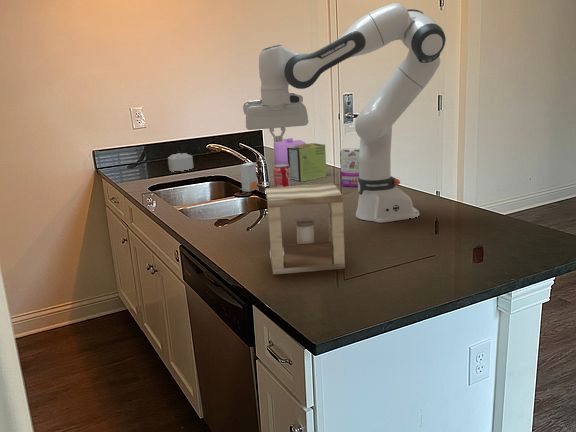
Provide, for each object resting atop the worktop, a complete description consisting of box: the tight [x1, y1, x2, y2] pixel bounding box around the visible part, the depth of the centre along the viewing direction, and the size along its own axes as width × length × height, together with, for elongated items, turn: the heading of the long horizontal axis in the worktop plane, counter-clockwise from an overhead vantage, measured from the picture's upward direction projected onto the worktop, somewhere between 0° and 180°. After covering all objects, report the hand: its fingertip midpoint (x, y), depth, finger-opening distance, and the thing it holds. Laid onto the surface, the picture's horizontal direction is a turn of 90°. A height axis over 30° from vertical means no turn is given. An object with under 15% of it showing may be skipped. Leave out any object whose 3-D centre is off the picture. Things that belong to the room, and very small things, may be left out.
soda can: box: [273, 164, 292, 188], centre depth 248 cm, size 7×7×13 cm
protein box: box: [287, 142, 327, 183], centre depth 278 cm, size 10×15×16 cm
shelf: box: [265, 182, 346, 275], centre depth 167 cm, size 17×20×21 cm
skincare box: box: [240, 162, 258, 193], centre depth 260 cm, size 6×4×12 cm
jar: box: [294, 217, 315, 244], centre depth 166 cm, size 5×5×12 cm
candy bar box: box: [339, 148, 360, 188], centre depth 256 cm, size 11×5×16 cm, turn 68°
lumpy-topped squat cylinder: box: [167, 152, 194, 173], centre depth 318 cm, size 10×13×9 cm
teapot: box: [273, 137, 307, 165], centre depth 315 cm, size 15×25×14 cm, turn 13°
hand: (278, 141), depth 191 cm, fingers closed
